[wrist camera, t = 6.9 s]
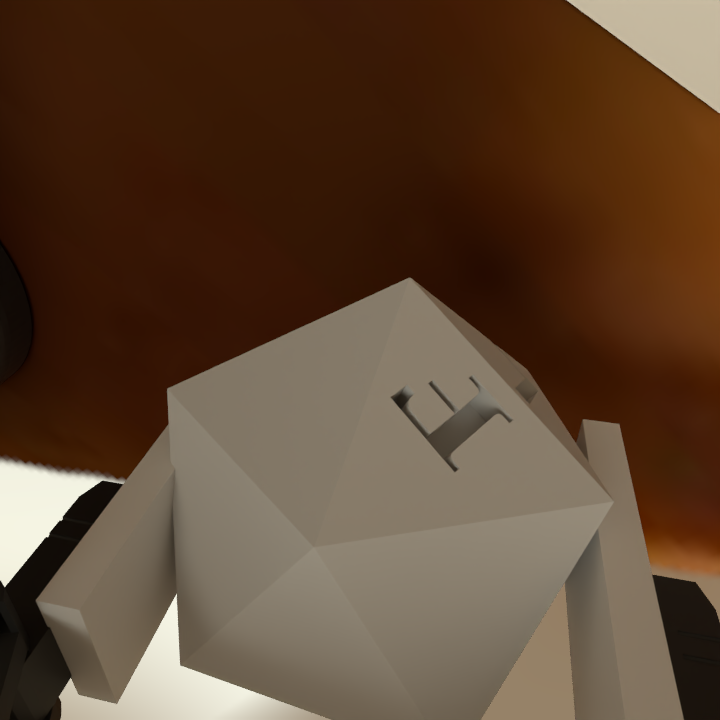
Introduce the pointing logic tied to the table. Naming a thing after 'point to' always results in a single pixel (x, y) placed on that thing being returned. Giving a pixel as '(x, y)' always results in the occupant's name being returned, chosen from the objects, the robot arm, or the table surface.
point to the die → (373, 513)
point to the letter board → (668, 37)
